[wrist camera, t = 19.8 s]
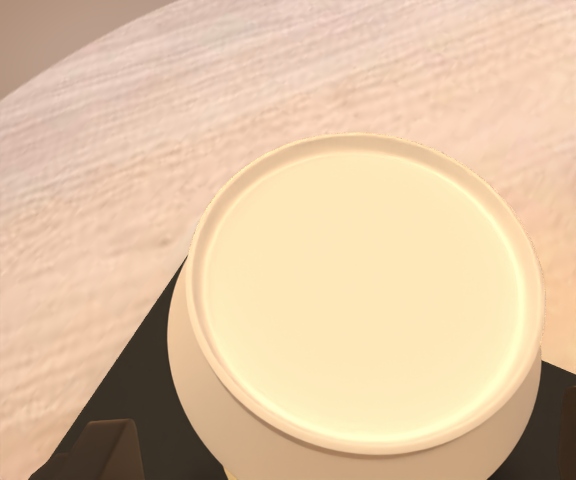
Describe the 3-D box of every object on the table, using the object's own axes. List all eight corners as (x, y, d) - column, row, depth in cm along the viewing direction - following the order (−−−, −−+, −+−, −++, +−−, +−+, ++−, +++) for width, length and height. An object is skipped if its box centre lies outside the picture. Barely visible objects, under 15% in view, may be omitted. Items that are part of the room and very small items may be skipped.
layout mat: (50, 464, 17) (44, 462, 17) (212, 225, 22) (210, 219, 22) (511, 751, 13) (518, 758, 13) (580, 381, 18) (587, 377, 18)
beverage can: (211, 382, 18) (87, 181, 7) (358, 313, 19) (425, 59, 9) (282, 566, 15) (240, 650, 5) (450, 470, 16) (717, 366, 6)
